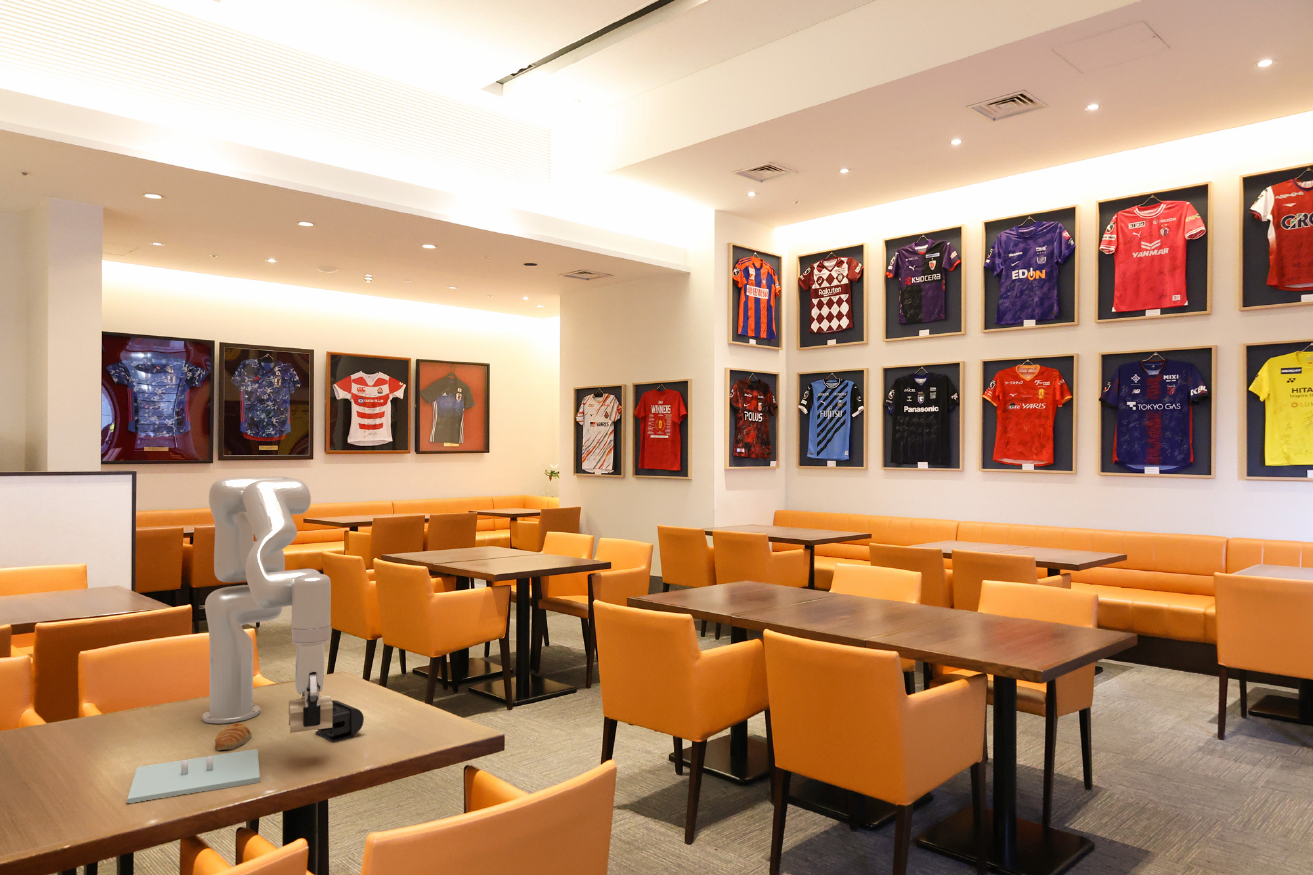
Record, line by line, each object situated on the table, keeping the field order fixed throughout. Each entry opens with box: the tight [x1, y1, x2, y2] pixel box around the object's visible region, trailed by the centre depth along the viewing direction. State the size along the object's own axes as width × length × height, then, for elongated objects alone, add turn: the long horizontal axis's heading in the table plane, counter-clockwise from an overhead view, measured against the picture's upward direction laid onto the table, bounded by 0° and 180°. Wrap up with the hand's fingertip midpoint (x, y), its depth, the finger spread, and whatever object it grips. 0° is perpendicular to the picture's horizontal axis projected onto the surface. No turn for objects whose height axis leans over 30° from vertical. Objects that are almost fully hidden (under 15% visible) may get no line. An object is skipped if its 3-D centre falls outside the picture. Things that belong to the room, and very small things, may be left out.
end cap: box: [315, 699, 365, 743], centre depth 193 cm, size 10×7×7 cm
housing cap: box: [288, 694, 333, 734], centre depth 176 cm, size 6×8×5 cm
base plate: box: [126, 748, 261, 804], centre depth 168 cm, size 18×22×4 cm
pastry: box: [214, 722, 253, 752], centre depth 187 cm, size 9×7×4 cm
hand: (310, 719), depth 176 cm, fingers closed on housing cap, 6 cm apart
